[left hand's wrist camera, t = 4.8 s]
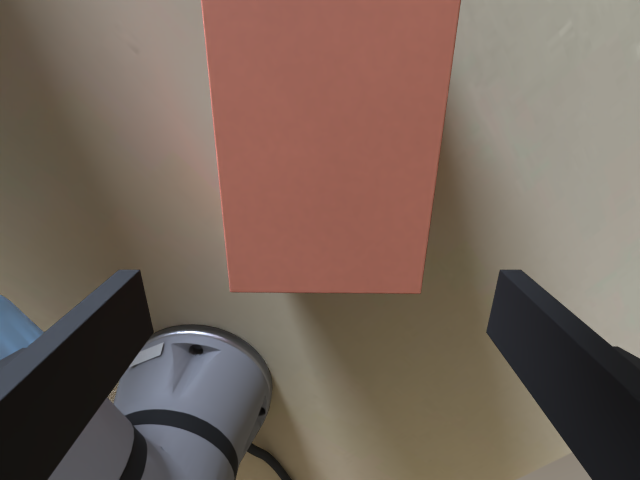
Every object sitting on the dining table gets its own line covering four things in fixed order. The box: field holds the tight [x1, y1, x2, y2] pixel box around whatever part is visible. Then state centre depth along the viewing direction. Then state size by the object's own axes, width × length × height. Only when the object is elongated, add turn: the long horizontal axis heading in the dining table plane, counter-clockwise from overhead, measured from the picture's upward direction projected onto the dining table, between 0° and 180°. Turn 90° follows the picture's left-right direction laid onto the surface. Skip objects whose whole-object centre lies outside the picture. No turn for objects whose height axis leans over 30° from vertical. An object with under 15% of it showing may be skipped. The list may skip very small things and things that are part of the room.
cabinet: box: [201, 0, 461, 294], centre depth 22 cm, size 17×12×11 cm, turn 179°
